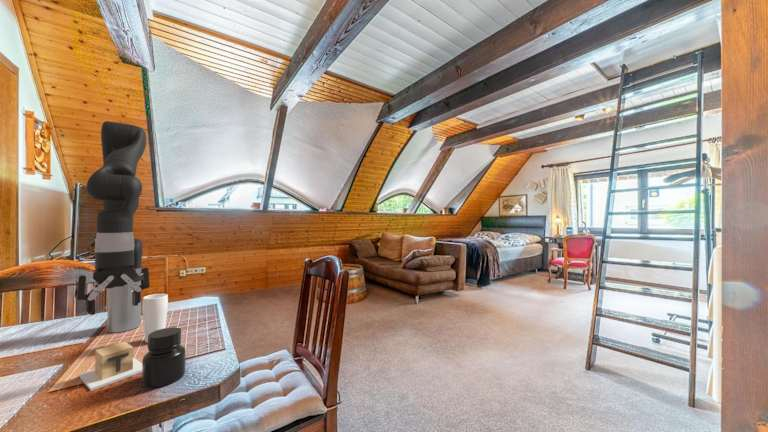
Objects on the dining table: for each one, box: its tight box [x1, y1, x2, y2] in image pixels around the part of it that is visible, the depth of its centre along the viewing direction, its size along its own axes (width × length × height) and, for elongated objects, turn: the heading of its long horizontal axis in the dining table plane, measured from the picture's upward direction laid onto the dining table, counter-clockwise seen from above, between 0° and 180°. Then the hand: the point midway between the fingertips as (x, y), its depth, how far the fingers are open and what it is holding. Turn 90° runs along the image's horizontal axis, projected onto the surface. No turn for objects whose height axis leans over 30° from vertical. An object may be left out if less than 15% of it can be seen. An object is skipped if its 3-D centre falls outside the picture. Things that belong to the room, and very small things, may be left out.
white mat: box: [78, 356, 142, 392], centre depth 75 cm, size 11×11×1 cm
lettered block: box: [94, 341, 134, 380], centre depth 75 cm, size 6×7×6 cm
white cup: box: [141, 293, 169, 344], centre depth 95 cm, size 7×7×15 cm
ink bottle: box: [141, 326, 186, 389], centre depth 73 cm, size 10×9×12 cm
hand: (114, 309), depth 75 cm, fingers open, 8 cm apart
